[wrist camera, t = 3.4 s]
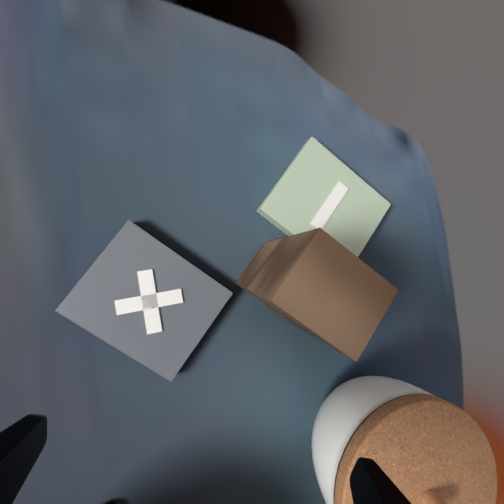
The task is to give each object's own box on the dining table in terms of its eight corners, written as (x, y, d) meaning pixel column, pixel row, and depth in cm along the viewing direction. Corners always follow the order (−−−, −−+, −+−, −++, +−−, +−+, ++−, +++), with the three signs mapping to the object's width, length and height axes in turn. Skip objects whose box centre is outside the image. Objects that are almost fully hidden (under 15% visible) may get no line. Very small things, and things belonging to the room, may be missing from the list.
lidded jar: (315, 340, 23) (398, 393, 13) (417, 375, 25) (550, 442, 15) (272, 470, 21) (331, 625, 12) (383, 496, 23) (505, 646, 14)
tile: (172, 375, 20) (170, 382, 19) (63, 307, 19) (53, 311, 17) (230, 291, 21) (233, 293, 20) (132, 222, 20) (128, 219, 19)
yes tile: (338, 275, 23) (347, 275, 22) (256, 211, 22) (260, 208, 21) (381, 207, 24) (392, 203, 23) (305, 142, 23) (312, 135, 22)
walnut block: (284, 318, 22) (356, 362, 12) (235, 283, 21) (271, 301, 12) (310, 278, 23) (398, 289, 13) (263, 243, 22) (320, 227, 12)
